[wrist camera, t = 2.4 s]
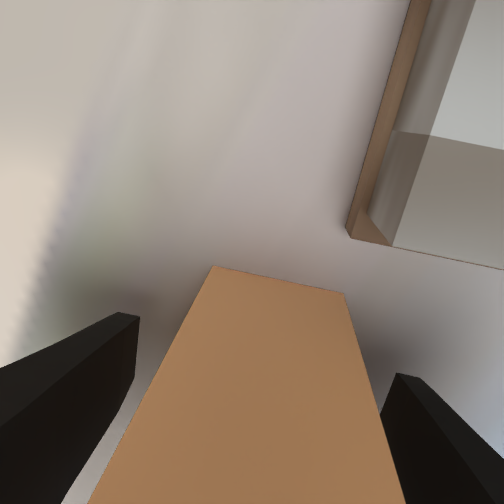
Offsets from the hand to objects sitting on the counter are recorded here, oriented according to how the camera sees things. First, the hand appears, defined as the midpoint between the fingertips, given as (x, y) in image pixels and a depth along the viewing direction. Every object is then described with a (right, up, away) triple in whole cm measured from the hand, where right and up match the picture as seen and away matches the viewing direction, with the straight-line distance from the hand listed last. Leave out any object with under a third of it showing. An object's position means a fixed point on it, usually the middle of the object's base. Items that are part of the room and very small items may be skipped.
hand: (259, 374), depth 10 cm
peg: (0, +1, +2) cm, 2 cm away
